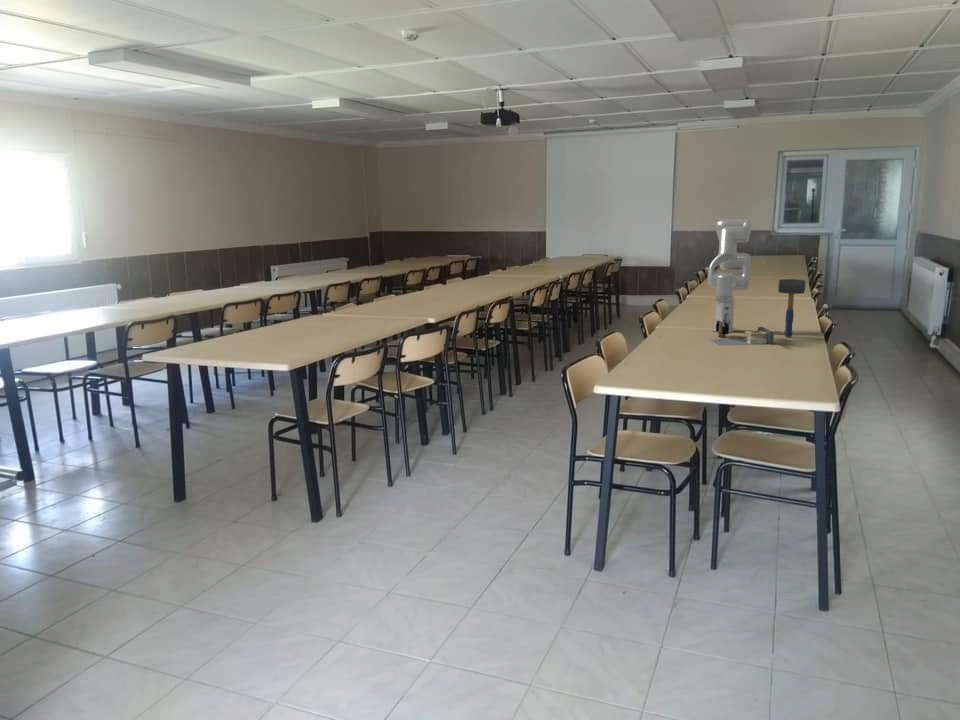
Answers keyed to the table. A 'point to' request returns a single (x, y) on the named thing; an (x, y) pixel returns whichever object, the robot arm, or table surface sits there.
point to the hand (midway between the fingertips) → (722, 332)
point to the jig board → (741, 341)
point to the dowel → (721, 330)
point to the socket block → (756, 337)
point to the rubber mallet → (790, 299)
